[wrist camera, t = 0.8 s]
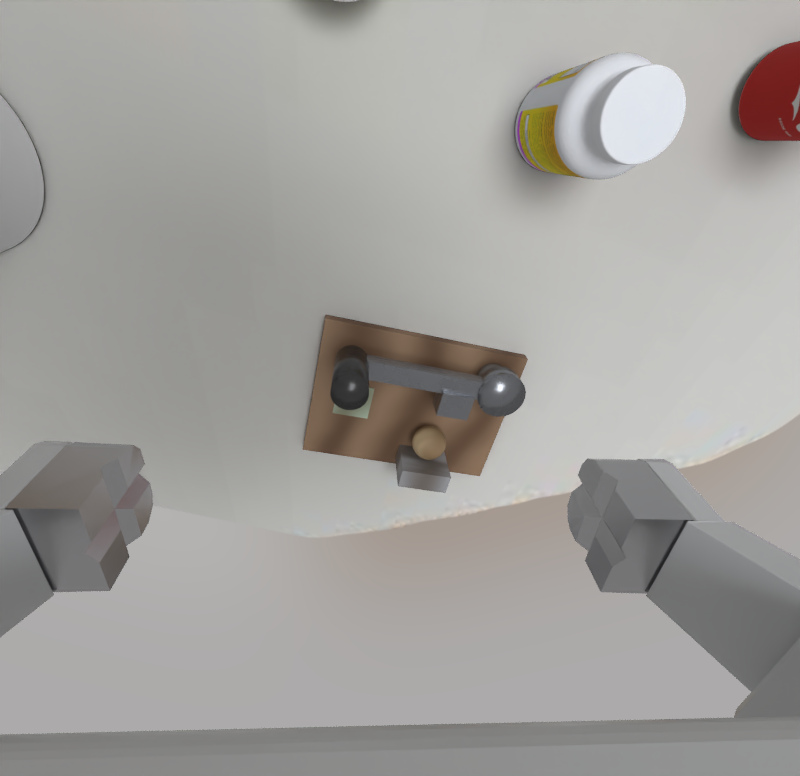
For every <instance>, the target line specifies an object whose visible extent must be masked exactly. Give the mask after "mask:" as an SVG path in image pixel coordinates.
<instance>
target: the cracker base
mask: <svg viewBox="0 0 800 776" xmlns="http://www.w3.org/2000/svg"><path fill="white" fill-rule="evenodd" d="M350 345H353V346H358V347H360V348H362V349H363V350H364V351H365V352H366V353H367V354H368V355H373V356H378V357H384V358H389V359H394V360H399V361H405V362H410V363H415V364H420V365H426V366H431V367H436V368H441V369H446V370H452V371H457V372H462V373H467V374H473V375H478V376H480V375H481V374H482V373H483V372H484V371H486V370H487V369H490V368H492V367H497V366H503V367H508V368H510V369H512V370H513V371H514V372H515V373H516V374H517V375H518V377H519V379H520V377H521V375H522V372H523V370H524V367H525V365H526V362H527V360H528V359H527V358H526V356H525V355H522V354H517V353H512V352H507V351H502V350H497V349H492V348H487V347H482V346H478V345H473V344H468V343H463V342H458V341H453V340H448V339H443V338H438V337H433V336H428V335H423V334H418V333H414V332H409V331H404V330H399V329H394V328H389V327H384V326H379V325H374V324H369V323H364V322H359V321H354V320H349V319H345V318H340V317H335V316H330V315H326V317H325V323H324V329H323V334H322V340H321V346H320V352H319V358H318V364H317V370H316V376H315V382H314V387H313V393H312V399H311V405H310V411H309V417H308V423H307V429H306V434H305V440H304V446H303V450H310V451H316V452H323V453H330V454H336V455H343V456H350V457H356V458H363V459H370V460H376V461H383V462H389V463H396V469H397V480H398V486H401V487H408V488H415V489H422V490H429V491H436V492H443V493H445V492H446V490H447V487H448V484H449V481H450V479H451V477H450V473H449V472H456V473H463V474H469V475H476V476H480V474H481V472H482V469H483V467H484V464H485V462H486V460H487V457H488V455H489V452H490V450H491V447H492V445H493V443H494V440H495V438H496V435H497V433H498V430H499V428H500V426H501V423H502V421H503V418H504V416H501V417H496V416H491V415H488V414H486V413H485V412H484V411H483V410H482V409H481V408H480V406H479V403H478V401H477V400H476V399H475V400H474V403H473V405H472V408H471V411H470V414H469V416H468V419H467V421H466V420H460V419H454V418H448V417H442V416H437V415H436V413H435V409H434V405H433V400H434V397H435V394H436V392H431V391H426V390H420V389H415V388H409V387H404V386H398V385H393V384H387V383H382V382H376V381H371V380H369V397H368V400H367V402H366V403H365V404H364V405H363V406H362V407H360V408H358V409H356V410H344V409H341V408H339V407H338V406H336V405H335V404H334V402H333V401H332V399H331V396H330V391H331V384H332V377H333V370H334V363H335V357H336V354H337V352H338V351H339V350H340V349H341V348H343V347H345V346H350Z"/></svg>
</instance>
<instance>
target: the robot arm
mask: <svg viewBox="0 0 800 776" xmlns="http://www.w3.org/2000/svg"><path fill="white" fill-rule="evenodd" d="M43 201H44V182H43V175H42V170H41V166H40V162H39V159H38V156H37V153H36V150H35V148H34V145H33V143H32V141H31V139H30V137H29V135H28V133H27V131H26V129H25V128H24V126H23V124H22V123H21V121H20V120H19V118H18V116H17V115H16V114H15V112H14V111H13V109H12V108H11V107H10V106H9V104H8V103H7V102H6V101H5V99H4V98H3V97H2V96H1V95H0V252H3V251H5V250H7V249H10V248H12V247H14V246H16V245H17V244H19V243H20V242H22V241H23V240H24V239H25V238H26V237H27V236H28V235H29V234H30V233H31V232H32V230H33V229H34V227H35V226H36V224H37V222H38V220H39V217H40V215H41V211H42V207H43ZM144 464H145V463H144V460H143V457H142V454H141V450H140V449H139V448H137V447H136V446H134V445H121V444H101V443H82V442H74V443H71V442H52V441H44V442H40V443H37V444H34V445H33V446H32V447H31V448H29V449H28V450H27V451H26V452H25V453H24V454H23V455H22V456H21V457H20V458H19V459H18V460H16V461H15V462H14V463H13V464H12V465H11V466H10V467H9V468H8V469H7V470H6V471H5V472H3V473H2V474H1V475H0V637H1V636H2V635H4V634H5V633H6V632H8V631H9V630H10V629H11V628H13V627H14V626H15V625H16V624H18V623H19V622H20V621H21V620H23V619H24V618H25V617H27V616H28V615H29V614H30V613H32V612H33V611H34V610H35V609H37V608H38V607H39V606H40V605H42V604H43V603H44V602H46V601H47V600H48V599H49V598H51V597H52V596H53V595H54V593H53V592H76V591H110V590H111V588H112V586H113V584H114V583H115V581H116V579H117V577H118V575H119V574H120V572H121V570H122V569H123V567H124V565H125V563H126V562H127V560H128V558H129V554H128V550H127V547H126V546H127V545H128V544H130V543H131V542H133V541H134V540H135V539H137V538H138V537H140V536H141V535H142V533H143V532H144V530H145V528H146V526H147V524H148V522H149V518H150V514H151V510H152V506H153V500H152V490H151V486H150V483H149V482H148V481H147V480H146V479H145V478H143V477H142V476H141V475H140V474H139V472H140V470H141V469H142V467H143V466H144ZM578 476H579V478H580V480H581V482H582V485H580V486H579V487H578V488H577V489H575V490H574V491H573V492H572V493H571V496H570V500H569V503H568V522H569V527H570V530H571V532H572V534H573V537H574V539H575V541H576V542H577V543H579V544H580V545H581V546H583V547H584V548H585V549H586V550H588V554H587V557H586V560H585V561H586V563H587V565H588V567H589V569H590V571H591V573H592V575H593V577H594V579H595V581H596V583H597V585H598V587H599V589H600V591H601V592H616V593H647V595H646V596H647V597H648V598H649V599H650V600H651V601H652V602H653V603H655V604H656V605H657V606H658V607H659V608H660V609H661V610H662V611H663V612H665V613H666V614H667V615H668V616H669V617H670V618H671V619H672V620H673V621H674V622H676V623H677V624H678V625H679V626H680V627H681V628H682V629H683V630H684V631H685V632H686V633H688V634H689V635H690V636H691V637H692V638H693V639H694V640H695V641H696V642H697V643H698V644H700V645H701V646H702V647H703V648H704V649H705V650H706V651H707V652H708V653H710V654H711V655H712V656H713V657H714V658H715V659H716V660H717V661H718V662H719V663H720V664H721V665H723V666H724V667H725V668H726V669H727V670H728V671H729V672H730V673H731V674H732V675H734V676H735V677H736V678H737V679H738V680H739V681H740V682H741V683H742V684H743V685H744V686H746V687H747V688H748V689H749V690H750V691H751V693H750V695H748V696H747V698H746V699H745V700H744V701H743V702H742V703H741V704H740V706H739V707H738V708H737V710H736V713H735V716H734V718H705V719H704V718H703V719H702V718H701V719H664V720H662V719H661V720H613V721H571V722H522V723H481V724H480V723H477V724H433V725H391V726H390V725H389V726H348V727H347V726H346V727H307V728H306V727H304V728H263V729H221V730H220V729H219V730H177V731H135V732H134V731H133V732H92V733H91V732H90V733H51V734H50V733H49V734H48V733H47V734H8V735H7V734H5V735H0V776H800V559H799V558H797V557H795V556H793V555H791V554H789V553H788V552H786V551H784V550H783V549H781V548H778V547H777V546H775V545H774V544H772V543H770V542H768V541H766V540H765V539H763V538H761V537H759V536H757V535H755V534H754V533H752V532H750V531H748V530H746V529H745V528H743V527H741V526H739V525H737V524H736V523H734V522H725V521H724V520H723V519H722V518H721V517H720V516H719V515H718V514H717V513H716V512H715V510H714V509H713V508H712V507H711V506H710V505H709V504H708V503H707V501H706V500H705V499H704V498H703V497H702V496H701V495H700V494H699V493H698V492H697V490H696V489H695V488H694V487H693V486H692V485H691V484H690V483H689V482H688V481H687V479H686V478H685V477H684V476H683V475H682V474H681V473H680V472H679V470H678V469H677V468H676V467H675V466H674V465H673V464H672V463H670V462H668V461H666V460H664V459H638V460H622V459H587V460H586V461H585V462H584V463H583V464H582V466H581V468H580V471H579V474H578Z"/></svg>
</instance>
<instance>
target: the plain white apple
mask: <svg viewBox="0 0 800 776" xmlns="http://www.w3.org/2000/svg"><path fill="white" fill-rule="evenodd" d="M334 1H340V2H353V1H358V0H334Z"/></svg>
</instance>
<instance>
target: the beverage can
mask: <svg viewBox="0 0 800 776" xmlns="http://www.w3.org/2000/svg"><path fill="white" fill-rule="evenodd" d="M739 119H740V123H741V126H742V128H743V129H744V131H745V132H746V133H747V134H748V135H749V136H751V137H752V138H754V139H757V140H763V141H800V41H798V42H793V43H789V44H786V45H783V46H781V47H779V48H777V49H775V50H774V51H772V52H771V53H770V54H768V55H767V56H766V57H765V58H764V59H763V60H762V61H761V62H760V63H759V64H758V65H757V66H756V67H755V69H754V70H753V71H752V73H751V74H750V76H749V77H748V79H747V81H746V83H745V85H744V87H743V90H742V93H741V96H740V101H739Z"/></svg>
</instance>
